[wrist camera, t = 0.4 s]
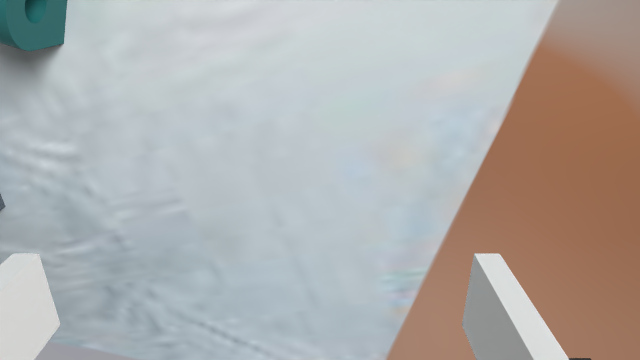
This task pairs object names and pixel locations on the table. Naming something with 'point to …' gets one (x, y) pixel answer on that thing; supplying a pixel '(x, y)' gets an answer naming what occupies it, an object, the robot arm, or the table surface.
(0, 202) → the box
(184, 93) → the table surface
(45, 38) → the bracket
